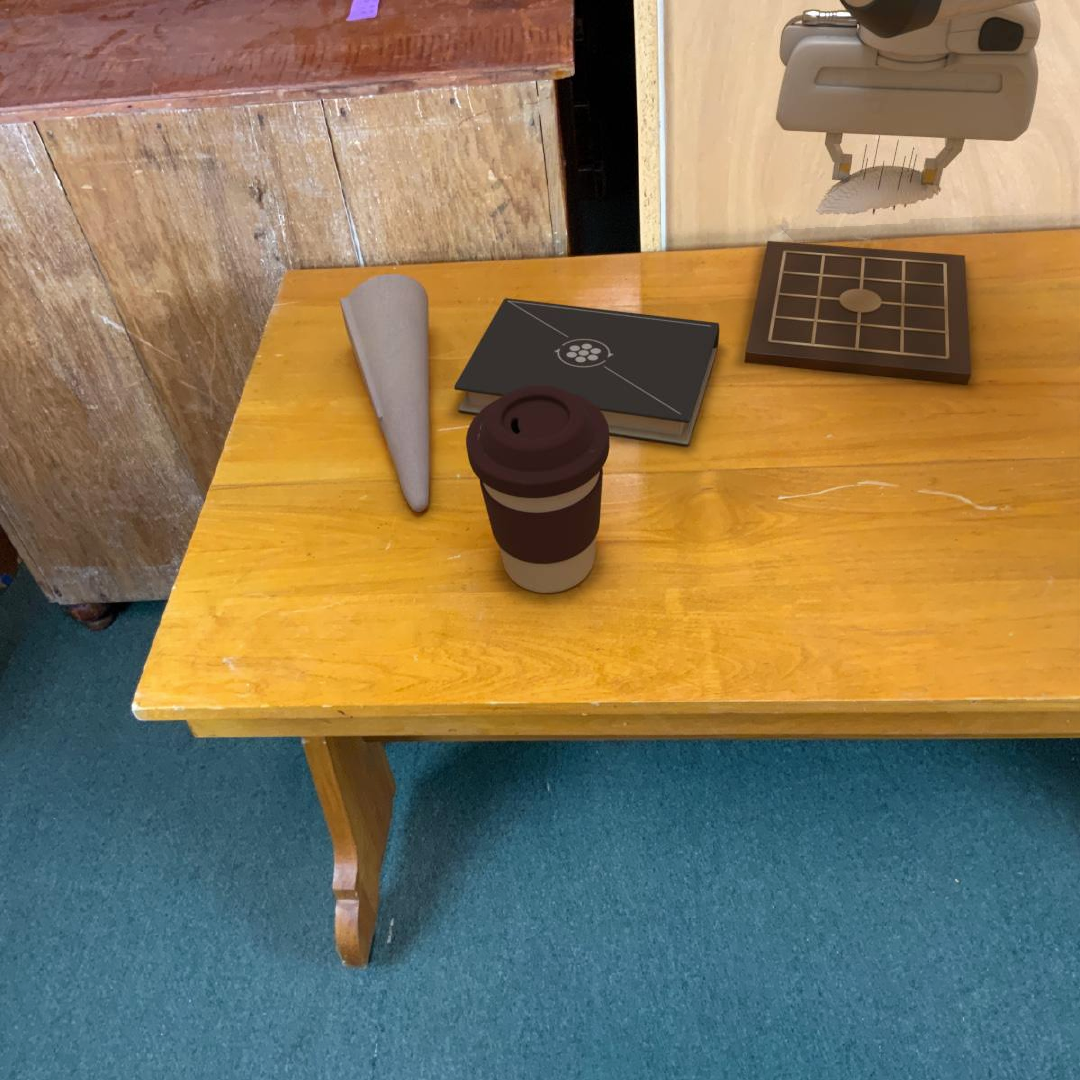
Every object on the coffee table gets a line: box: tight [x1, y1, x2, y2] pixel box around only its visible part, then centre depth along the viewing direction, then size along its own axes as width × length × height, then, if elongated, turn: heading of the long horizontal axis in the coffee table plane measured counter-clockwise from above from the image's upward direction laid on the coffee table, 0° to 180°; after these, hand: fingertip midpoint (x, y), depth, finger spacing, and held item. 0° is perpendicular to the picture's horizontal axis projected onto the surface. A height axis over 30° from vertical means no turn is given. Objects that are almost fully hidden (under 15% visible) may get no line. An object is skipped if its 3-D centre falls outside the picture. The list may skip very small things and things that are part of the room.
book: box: [453, 297, 720, 447], centre depth 90 cm, size 22×15×3 cm
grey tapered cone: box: [339, 273, 431, 513], centre depth 87 cm, size 8×9×26 cm
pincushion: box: [815, 135, 942, 215], centre depth 84 cm, size 12×6×6 cm, turn 105°
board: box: [744, 240, 972, 386], centre depth 95 cm, size 20×20×1 cm
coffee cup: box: [465, 385, 610, 594], centre depth 70 cm, size 10×10×15 cm
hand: (885, 180), depth 85 cm, fingers closed on pincushion, 6 cm apart
